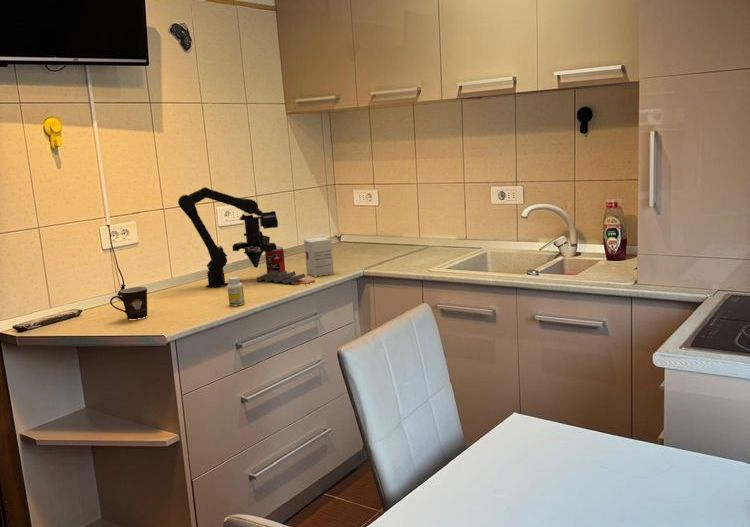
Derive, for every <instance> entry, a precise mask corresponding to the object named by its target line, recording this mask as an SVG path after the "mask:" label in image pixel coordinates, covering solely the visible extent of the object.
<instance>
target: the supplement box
mask: <svg viewBox="0 0 750 527" xmlns="http://www.w3.org/2000/svg"><path fill="white" fill-rule="evenodd" d="M303 246H304V255H305V266H306V274H307V275H308V274H309V276H311V277H313V276H314V277H313V278H318V277H317V276H319V277H323V276H322V275H325V276H329V275H328V274H331V275H335V273H334V271H335V269H334V258H333V245H332V239H331V238H327V237H324V236H320V237H314V238H307V239H303Z"/></svg>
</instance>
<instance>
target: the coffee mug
mask: <svg viewBox="0 0 750 527" xmlns="http://www.w3.org/2000/svg"><path fill="white" fill-rule="evenodd" d="M120 294H121V295H120V296H119V295H115V296H112V297H111V298H110V300H109V304H110V305H111V306H112V307H113V308H114V309H116V310H119V311H120V312H122V313H125V315H126V318H127V320H128V319H138V318H143V317H146V316H147V317H148V287H146V286H134V287H133V286H132V287H128V288H124V289H121V290H120ZM117 298H118V299H119V300H120V301H121V302H123V306H124V310H123V309H122V308H119V307H117V306H115V305H114V304H113V300H114V299H117Z"/></svg>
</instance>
